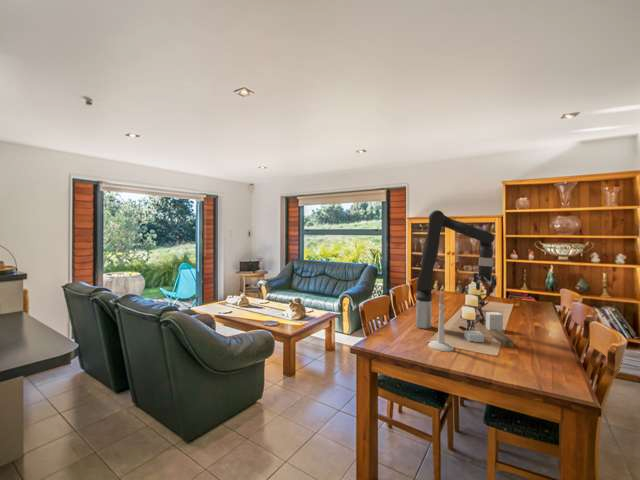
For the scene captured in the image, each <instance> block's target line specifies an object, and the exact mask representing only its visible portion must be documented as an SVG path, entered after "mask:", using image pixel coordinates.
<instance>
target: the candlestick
mask: <svg viewBox="0 0 640 480" xmlns="http://www.w3.org/2000/svg"><path fill="white" fill-rule="evenodd" d="M444 299H445V292H444V291H439V303H438V304H437V305H438V307H439V311H438V312H439V315H438V327H437V329H438V330H437V340H432V341H430V342H429V343H428V344H427V345H428V348H430V349H431V350H433V351H438V352H448V353H449V352H452V351H453V352H454V350H455V348H454V345H453V344H451V343H449V342H447V341H446V339H445V321H444V320H445V316H444V315H445V313H444V309H445V306H446V304H444V303H445V302H444V301H445V300H444Z"/></svg>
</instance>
